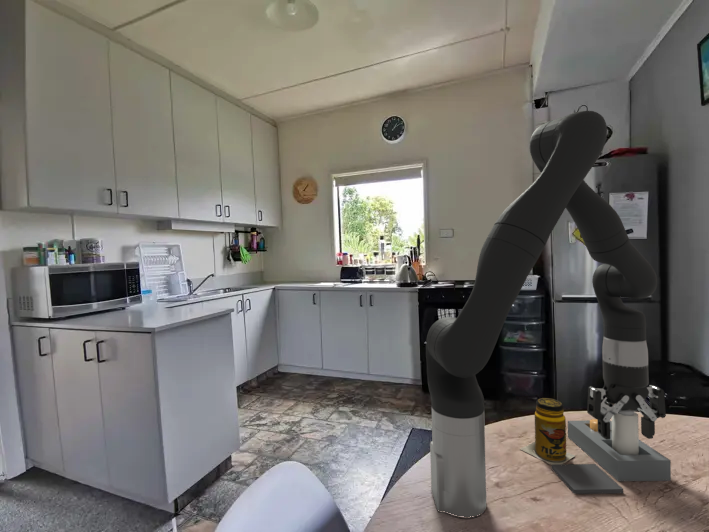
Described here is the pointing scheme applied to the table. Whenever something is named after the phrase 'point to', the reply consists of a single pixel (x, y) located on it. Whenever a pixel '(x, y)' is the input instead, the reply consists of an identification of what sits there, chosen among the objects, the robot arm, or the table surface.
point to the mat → (586, 479)
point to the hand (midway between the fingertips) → (626, 437)
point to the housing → (620, 466)
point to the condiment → (549, 433)
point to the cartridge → (625, 432)
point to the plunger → (594, 425)
